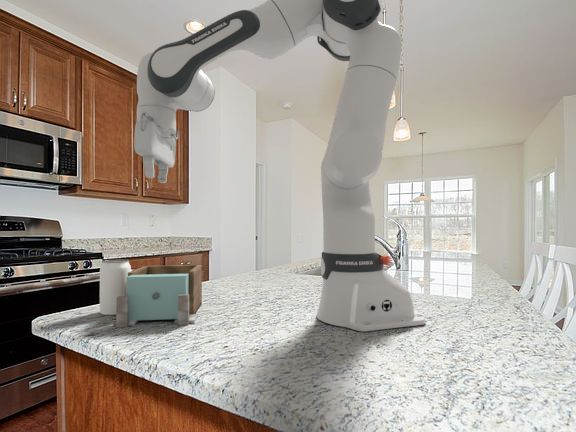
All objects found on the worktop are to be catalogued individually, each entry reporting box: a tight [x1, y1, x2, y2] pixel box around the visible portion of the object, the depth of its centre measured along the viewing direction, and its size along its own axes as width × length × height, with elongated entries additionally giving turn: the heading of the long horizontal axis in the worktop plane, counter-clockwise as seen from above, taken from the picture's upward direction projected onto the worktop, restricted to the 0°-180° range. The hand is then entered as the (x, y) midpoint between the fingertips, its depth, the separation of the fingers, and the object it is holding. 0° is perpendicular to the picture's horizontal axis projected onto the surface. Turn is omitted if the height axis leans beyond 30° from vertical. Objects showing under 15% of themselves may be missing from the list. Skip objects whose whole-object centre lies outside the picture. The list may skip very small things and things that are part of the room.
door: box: [127, 274, 189, 321], centre depth 69 cm, size 12×4×9 cm, turn 96°
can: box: [99, 258, 132, 317], centre depth 76 cm, size 6×6×12 cm
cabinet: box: [112, 264, 203, 328], centre depth 74 cm, size 16×17×10 cm
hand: (156, 180), depth 78 cm, fingers open, 8 cm apart
